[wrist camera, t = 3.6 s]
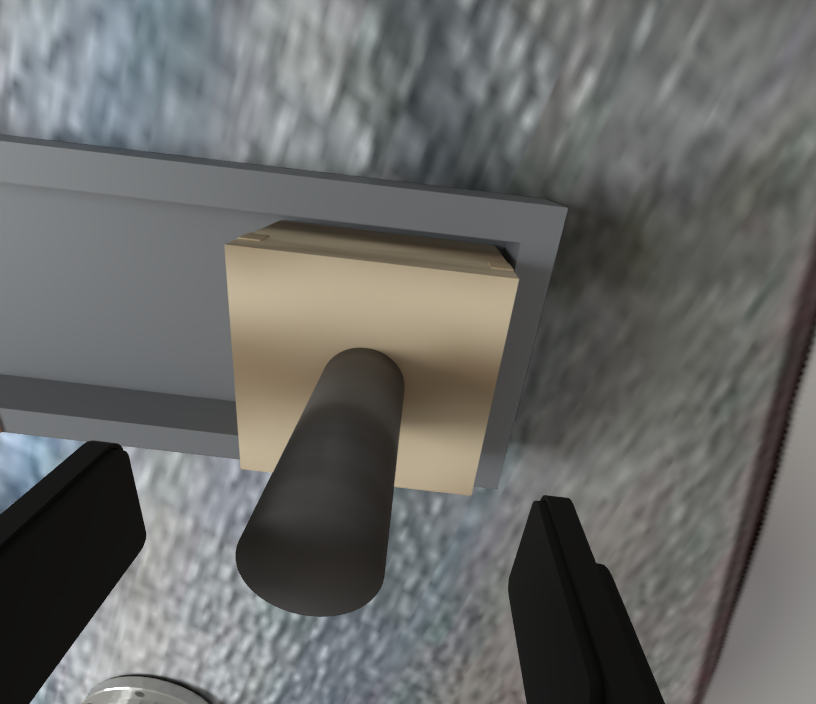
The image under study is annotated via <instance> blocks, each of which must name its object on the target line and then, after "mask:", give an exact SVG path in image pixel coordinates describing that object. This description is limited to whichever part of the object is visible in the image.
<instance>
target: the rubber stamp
mask: <svg viewBox="0 0 816 704" xmlns="http://www.w3.org/2000/svg"><path fill="white" fill-rule="evenodd" d="M224 247H225V260H226V274H227V288H228V301H229V315H230V329H231V343H232V356H233V370H234V384H235V397H236V411H237V425H238V438H239V452H240V466H241V469H246V470H254V471H263V472H272V475H271V477H270V479H269V481H268V483H267V485H266V487H265V489H264V491H263V493H262V495H261V497H260V499H259V501H258V503H257V505H256V507H255V509H254V511H253V513H252V515H251V517H250V519H249V521H248V523H247V525H246V528H245V530H244V532H243V534H242V536H241V538H240V540H239V542H238V545H237V548H236V564H237V568H238V571H239V573H240V575H241V577H242V579H243V580H244V582H245V583H246V584H247V586H248V587H249V588H250V589H251V590H252V591H253V592H254V593H256V594H257V595H258V596H259V597H261V598H262V599H264V600H265V601H266V602H268V603H270V604H272V605H274V606H276V607H278V608H281V609H283V610H286V611H289V612H292V613H296V614H300V615H307V616H317V617H325V616H336V615H341V614H346V613H349V612H352V611H354V610H357V609H359V608H361V607H362V606H364V605H366V604H367V603H368V602H370V601H371V600H372V599H373V598H374V597H375V596H376V595H377V593H378V592H379V590H380V588H381V586H382V584H383V580H384V574H385V565H386V556H387V547H388V538H389V528H390V519H391V510H392V501H393V491H394V487H401V488H409V489H418V490H427V491H435V492H444V493H453V494H461V495H470V496H471V495H472V490H473V486H474V481H475V477H476V472H477V468H478V463H479V459H480V454H481V449H482V445H483V440H484V436H485V431H486V427H487V422H488V418H489V413H490V409H491V404H492V400H493V395H494V391H495V386H496V382H497V377H498V373H499V368H500V364H501V359H502V355H503V350H504V346H505V341H506V337H507V332H508V328H509V323H510V318H511V314H512V309H513V305H514V300H515V296H516V291H517V287H518V282H519V278H518V277H517V275H516V274H515V272H514V269H513V268H512V267H511V265H510V264H509V263H507V261H506V260H505V259H504V257H503V256H502V255H501V253H500V252H499V250H498V249H497V248H496V246H495V245H488V244H480V243H471V242H463V241H454V240H446V239H437V238H429V237H420V236H412V235H403V234H395V233H386V232H378V231H369V230H361V229H352V228H344V227H335V226H326V225H318V224H309V223H301V222H292V221H284V220H280V221H278V222H275V223H273V224H271V225H268V226H266V227H264V228H261V229H259V230H257V231H254V232H252V233H246V234H244V235H242V236H239V237H238V239H236V240H233V241H231V242H229V243H226V244H224Z"/></svg>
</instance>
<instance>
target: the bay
mask: <svg viewBox="0 0 816 704" xmlns="http://www.w3.org/2000/svg"><path fill="white" fill-rule="evenodd" d="M567 211H568V207H565V206H562V205H559V204H557V203H554V202H551V201H549V200H546V199H543V198H536V197H527V196H519V195H510V194H502V193H493V192H485V191H476V190H468V189H459V188H451V187H442V186H434V185H426V184H417V183H409V182H400V181H392V180H383V179H375V178H366V177H358V176H349V175H341V174H332V173H324V172H315V171H307V170H298V169H290V168H281V167H273V166H264V165H256V164H247V163H239V162H230V161H222V160H213V159H205V158H196V157H188V156H179V155H171V154H162V153H154V152H146V151H137V150H129V149H120V148H112V147H103V146H95V145H86V144H78V143H69V142H61V141H52V140H44V139H35V138H27V137H18V136H10V135H1V134H0V433H1V432H8V433H17V434H25V435H34V436H43V437H51V438H60V439H68V440H77V441H86V442H88V441H92V440H94V441H102V442H110V443H117V444H120V445H121V446H129V447H137V448H146V449H155V450H163V451H172V452H180V453H189V454H198V455H206V456H215V457H223V458H232V459H240V452H239V438H238V425H237V411H236V397H235V384H234V370H233V356H232V343H231V329H230V315H229V301H228V288H227V274H226V260H225V247H224V244H226V243H229V242H231V241H233V240H236V239H238V237H239V236H242V235H244V234H246V233H252V232H254V231H257V230H259V229H261V228H264V227H266V226H268V225H271V224H273V223H275V222H278V221H280V220H284V221H292V222H301V223H309V224H318V225H326V226H335V227H344V228H352V229H361V230H369V231H378V232H386V233H395V234H403V235H412V236H420V237H429V238H437V239H446V240H454V241H463V242H471V243H480V244H488V245H495V246H496V248H497V249H498V250H499V252H500V253H501V255H502V256H503V257H504V259H505V260H506V261H507V263H509V264H510V265H511V267H512V268H513V269H514V272H515V274H516V275H517V277H518V278H519V282H518V287H517V291H516V296H515V300H514V305H513V309H512V314H511V318H510V323H509V328H508V332H507V337H506V341H505V346H504V350H503V355H502V359H501V364H500V368H499V373H498V377H497V382H496V386H495V391H494V395H493V400H492V404H491V409H490V413H489V418H488V422H487V427H486V431H485V436H484V440H483V445H482V449H481V454H480V459H479V463H478V468H477V472H476V477H475V481H474V486H473V487H482V488H491V489H497V488H498V484H499V480H500V476H501V472H502V468H503V464H504V460H505V456H506V452H507V448H508V444H509V440H510V436H511V432H512V428H513V425H514V421H515V417H516V413H517V409H518V405H519V401H520V397H521V393H522V389H523V385H524V381H525V377H526V373H527V369H528V365H529V361H530V357H531V353H532V349H533V345H534V341H535V337H536V333H537V329H538V326H539V322H540V318H541V314H542V310H543V306H544V302H545V298H546V294H547V290H548V286H549V282H550V278H551V274H552V270H553V266H554V262H555V258H556V254H557V250H558V246H559V242H560V238H561V234H562V231H563V227H564V223H565V219H566V215H567Z"/></svg>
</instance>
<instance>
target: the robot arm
mask: <svg viewBox="0 0 816 704" xmlns="http://www.w3.org/2000/svg"><path fill="white" fill-rule="evenodd" d="M145 540H146V530H145V525H144V521H143V517H142V512H141V508H140V503H139V499H138V495H137V490H136V486H135V481H134V477H133V473H132V468H131V464H130V459H129V455H128V453H127V452H126V451H123V448H122V446H121V445H120V444H117V443H110V442H102V441H94V440H92V441H88V442H86V443H85V444H83V445H82V446H81V447H80V448H79V449H77V450H76V451H75V452H74V453H73V454H71V455H70V456H69V457H68V458H67V459H66V460H64V461H63V462H62V463H61V464H60V465H58V466H57V467H56V468H55V469H54V470H53V471H51V472H50V473H49V474H48V475H47V476H45V477H44V478H43V479H42V480H41V481H40V482H38V483H37V484H36V485H35V486H34V487H32V488H31V489H30V490H29V491H28V492H27V493H25V494H24V495H23V496H22V497H21V498H19V499H18V500H17V501H16V502H15V503H14V504H12V505H11V506H10V507H9V508H8V509H6V510H5V511H4V512H3V513H2V514H1V515H0V704H29V703H30V702H31V701H32V699H33V698H34V697H35V695H36V694H37V692H38V691H39V690H40V688H41V687H42V686H43V684H44V683H45V681H46V680H47V679H48V677H49V676H50V675H51V673H52V672H53V670H54V669H55V668H56V666H57V665H58V664H59V662H60V661H61V659H62V658H63V657H64V655H65V654H66V653H67V651H68V650H69V648H70V647H71V646H72V644H73V643H74V642H75V640H76V639H77V637H78V636H79V635H80V633H81V632H82V631H83V629H84V628H85V627H86V625H87V624H88V622H89V621H90V620H91V618H92V617H93V616H94V614H95V613H96V611H97V610H98V609H99V607H100V606H101V605H102V603H103V602H104V600H105V599H106V598H107V596H108V595H109V594H110V592H111V591H112V589H113V588H114V587H115V585H116V584H117V583H118V581H119V580H120V578H121V577H122V576H123V574H124V573H125V572H126V570H127V569H128V567H129V566H130V565H131V563H132V562H133V561H134V559H135V558H136V556H137V555H138V554H139V552H140V551H141V549H142V548H143V546H144V543H145ZM508 592H509V599H510V605H511V611H512V618H513V624H514V630H515V636H516V642H517V648H518V654H519V660H520V666H521V672H522V678H523V684H524V690H525V696H526V702H527V704H665V703H664V700H663V698H662V695H661V693H660V691H659V688H658V686H657V683H656V681H655V679H654V676H653V674H652V671H651V669H650V666H649V664H648V662H647V659H646V657H645V654H644V652H643V650H642V647H641V645H640V642H639V640H638V637H637V635H636V633H635V630H634V628H633V625H632V623H631V621H630V618H629V616H628V613H627V611H626V608H625V606H624V604H623V601H622V599H621V596H620V594H619V592H618V589H617V587H616V584H615V582H614V580H613V577H612V575H611V573H610V571H609V570H608V569H607V567H606V566H605V565H602V564H598V563H596V562H595V559H594V557H593V554H592V551H591V549H590V546H589V544H588V541H587V539H586V536H585V533H584V531H583V528H582V526H581V523H580V520H579V518H578V515H577V513H576V510H575V508H574V505H573V503H572V501H571V500H570V499H569V498H563V497H555V496H547V495H544V496H543V497H542V498H541V500H540V501H534V502H533V504H532V507H531V510H530V513H529V516H528V520H527V523H526V526H525V529H524V532H523V536H522V539H521V542H520V545H519V548H518V551H517V555H516V558H515V561H514V564H513V567H512V571H511V574H510V577H509V583H508ZM82 704H209V703H208V702H207V701H206V700H204V699H203V698H202V697H200V696H199V695H197V694H196V693H194V692H192V691H190V690H188V689H186V688H184V687H182V686H179V685H176V684H174V683H171V682H168V681H164V680H160V679H155V678H148V677H137V676H127V677H117V678H113V679H109V680H106V681H104V682H102V683H100V684H97V685H96V686H95V687H94V688H93V689H91V691H90V692H89V694H88V695H87V697H86V699H85V700H84V702H83V703H82Z"/></svg>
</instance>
